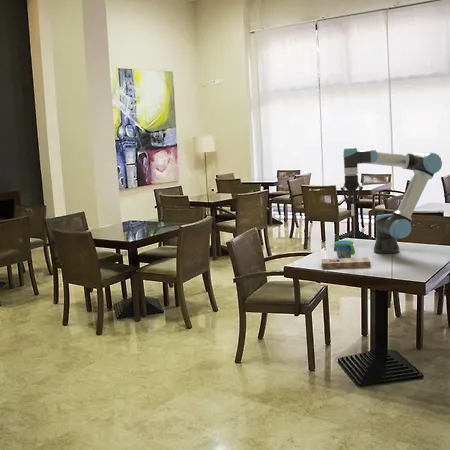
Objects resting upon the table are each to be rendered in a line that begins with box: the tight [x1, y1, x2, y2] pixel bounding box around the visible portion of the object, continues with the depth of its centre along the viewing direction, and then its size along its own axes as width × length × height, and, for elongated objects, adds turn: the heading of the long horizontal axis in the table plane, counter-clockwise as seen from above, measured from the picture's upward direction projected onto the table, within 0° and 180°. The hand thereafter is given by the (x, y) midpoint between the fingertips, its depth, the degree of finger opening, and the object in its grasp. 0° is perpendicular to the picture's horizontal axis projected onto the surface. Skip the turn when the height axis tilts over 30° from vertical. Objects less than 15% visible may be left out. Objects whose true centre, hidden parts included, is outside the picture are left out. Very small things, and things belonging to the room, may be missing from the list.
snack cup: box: [333, 240, 356, 258], centre depth 344 cm, size 16×10×10 cm
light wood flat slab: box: [321, 256, 372, 270], centre depth 326 cm, size 26×12×3 cm, turn 83°
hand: (352, 215), depth 336 cm, fingers closed
